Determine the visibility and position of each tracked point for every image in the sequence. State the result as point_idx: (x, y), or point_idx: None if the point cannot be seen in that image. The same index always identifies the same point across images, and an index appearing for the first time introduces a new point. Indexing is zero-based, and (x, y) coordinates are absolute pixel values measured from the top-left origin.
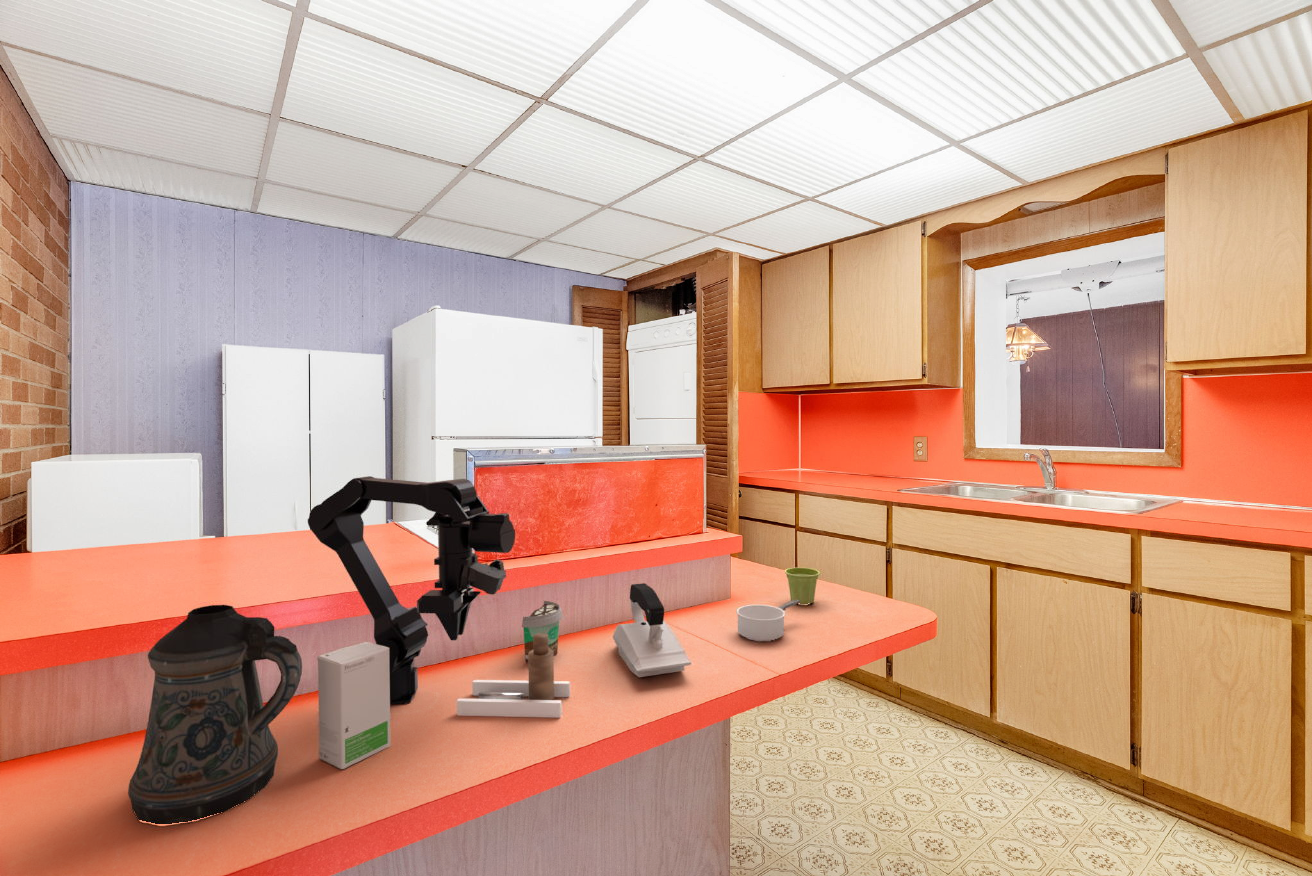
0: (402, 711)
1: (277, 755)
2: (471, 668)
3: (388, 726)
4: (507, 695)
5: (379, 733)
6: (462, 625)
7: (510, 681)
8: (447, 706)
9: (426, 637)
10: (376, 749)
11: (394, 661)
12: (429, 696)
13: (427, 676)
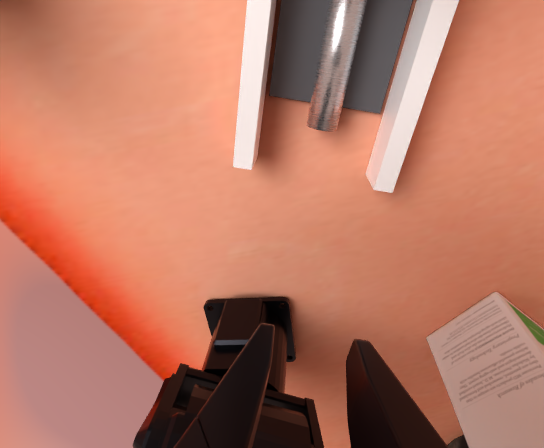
0: (327, 301)
1: None
2: (74, 193)
3: (527, 327)
4: (359, 9)
5: (538, 334)
6: (268, 373)
7: (257, 12)
8: (319, 211)
9: (190, 414)
10: (522, 313)
11: (319, 430)
12: (254, 264)
13: (141, 289)
